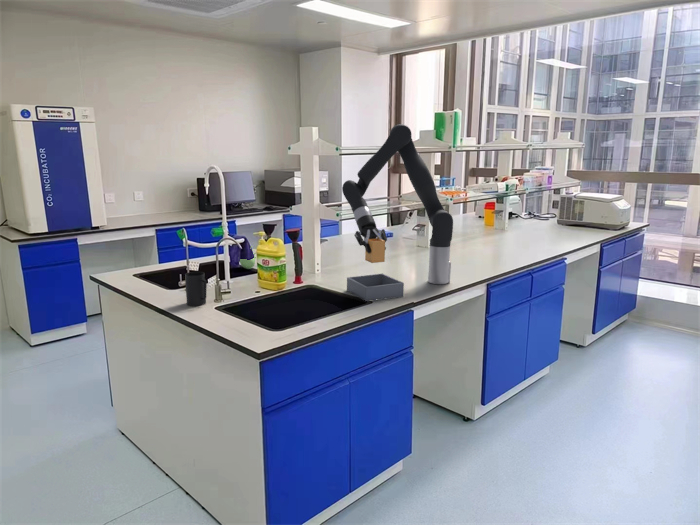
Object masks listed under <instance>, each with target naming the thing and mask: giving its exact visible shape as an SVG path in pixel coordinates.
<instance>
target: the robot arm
mask: <svg viewBox="0 0 700 525" xmlns="http://www.w3.org/2000/svg"><path fill="white" fill-rule="evenodd" d="M397 153H398V154H399V156H400V157H401V160H402V163H403V166H404V168H405V171H406V174H407V176H408V178H409V181H410V183H411V186H412V187H413V190H414V191H415V194H416V195H417V197H418V198H419V200H420V202H421V204H422V205H423V207H424V209H425V213H426V215H427V218H428V220H429V223H430V226H431V227H432V230H431V237H430V240H429V255H428V256H429V257H428V272H427V274H428V276H427V282H428V283H429V284H435V285H447V284H448V283H450V282H451V272H452V271H451V269H452V262H451V261H450V255H451V243H452V240H453V233H454V231H453V230H454V218H453V215H452V214H451V213H450V212H448V211H446V210H445V208H444V206H443V205H442V203H441V201H440V199H439V196H438V193H437V189H436V184H435V182H434V178H433V177H432V174H431V172H430V170H429V168H428V167H427V166H428V165H426V163H425V161H424V159H423V158H422V156H420V154H419V153H418V151H417V148H416V146H415V144H414V141H413V139H412V130H411V129H410V127H409V126H408V125H406V124H403V123H401V124H400V123H399V124H396V125H394V126H393V127H392V128H391V129H390V131H389V135H388V137H387V139H386V140H385V142H384V143H383V144H382V145H381V147H380V148H379V150H377V151H376V152H375V153H374V154H373V155H371V157H370V158H369V159H368V160H367V161H366V162H365V164H364V165H363V166H362V167H361V168H360V170H359V171H358V172H357V177H358V178H359V179H358V181H357V182H356V181H354V180H349V179H348V180H346V181H345V182H344V183H343V184H342V187H341V188H342V195H343V196H344V198H345V200H346V201H347V203H348V204H349V206H350V209H351V211H352V213H353V218H354V220H355V223H356V225H357V229H358V230H356V231H355V233H354V237H355V240H356V241H357V243H358V246H363V247H364V249H366V251H367V252H368V253H371V248H370V245H369V244H368V240H369V239H375V238H377V240H378V239H382V240H385V243H386V242H387V241H388V238H387V235H386V234H387V233H386V231H385V229H384V228H383V229H381V230H379V229H378V228H377V224H376V221H375V219H374V217H373V214H372V212H371V210H370V208H369V206H368V203H367V202H366V199H365V198H364V195H365V194H366V192H367V190H368V188H369V186H370V184H371V182H372V181H373V180H374V179H375V178H376V176H377V175H378V174H379V173H380V171H382V169H383V168H384V167H385V166H386V164H387V163H389V161H390V159H392V158H393V157H394V155H396V154H397ZM386 249H387V247H386V246H385V251H386Z"/></svg>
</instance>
